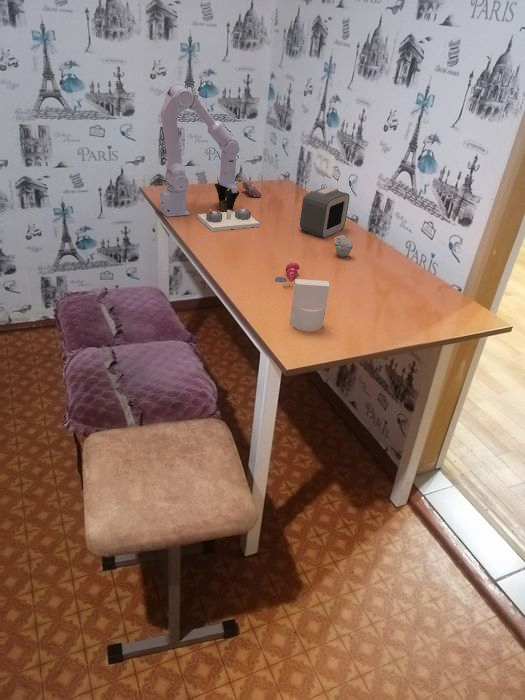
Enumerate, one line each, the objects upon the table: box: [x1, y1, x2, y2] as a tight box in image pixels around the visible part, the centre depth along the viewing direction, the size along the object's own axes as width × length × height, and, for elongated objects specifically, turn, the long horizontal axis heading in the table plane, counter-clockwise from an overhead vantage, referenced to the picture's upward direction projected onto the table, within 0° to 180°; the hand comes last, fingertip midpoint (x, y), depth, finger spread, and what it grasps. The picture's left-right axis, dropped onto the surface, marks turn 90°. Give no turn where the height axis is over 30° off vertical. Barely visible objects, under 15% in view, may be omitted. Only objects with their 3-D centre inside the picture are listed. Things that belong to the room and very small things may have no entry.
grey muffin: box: [333, 234, 354, 258], centre depth 193 cm, size 6×7×7 cm
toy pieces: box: [274, 262, 301, 289], centre depth 173 cm, size 12×11×4 cm
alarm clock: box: [299, 185, 350, 239], centre depth 210 cm, size 16×11×16 cm
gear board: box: [197, 207, 261, 233], centre depth 210 cm, size 19×14×6 cm
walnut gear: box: [218, 199, 234, 212], centre depth 223 cm, size 6×6×3 cm
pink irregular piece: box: [241, 179, 263, 198], centre depth 241 cm, size 10×5×7 cm, turn 25°
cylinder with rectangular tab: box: [289, 278, 330, 332], centre depth 150 cm, size 9×9×12 cm
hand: (225, 205), depth 223 cm, fingers open, 7 cm apart
